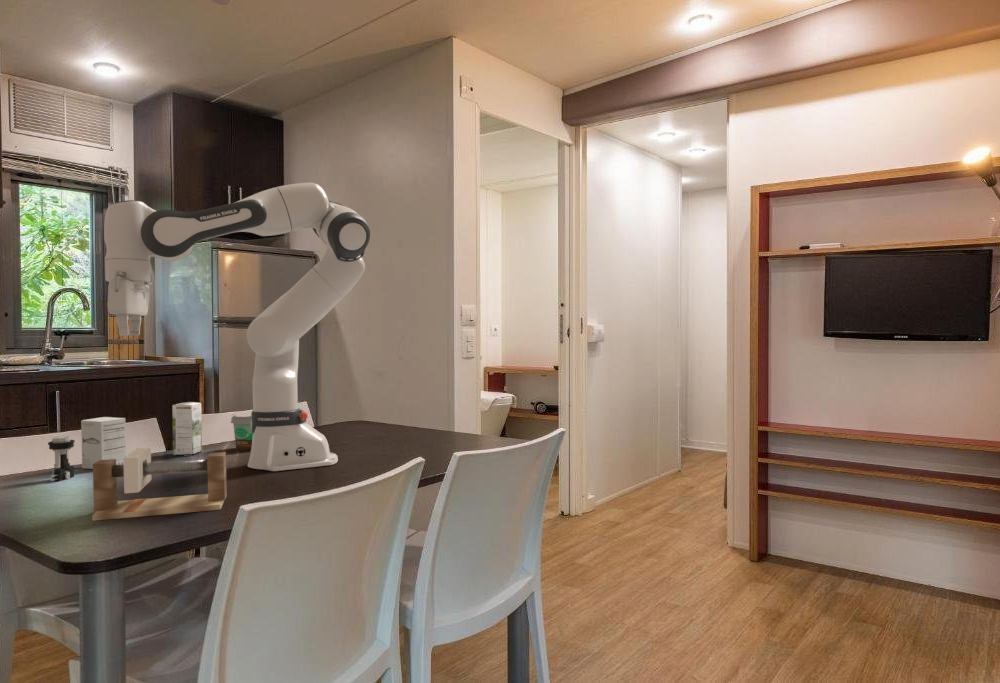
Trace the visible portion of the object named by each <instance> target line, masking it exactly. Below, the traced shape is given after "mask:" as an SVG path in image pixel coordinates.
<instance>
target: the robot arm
mask: <svg viewBox="0 0 1000 683" xmlns="http://www.w3.org/2000/svg"><path fill="white" fill-rule="evenodd" d="M103 226H104V227H103V230H104V231H103V232H104V233H103V235H104V236H103V237H104V239H103V240H104V243H105V246H106V251H105V256H104V270H105V271H104V276H105V282H108V287H107V310H108V313H109V314H110V315H115V320H116V324H117V328H118V335H119V336H120V337H127V336H140V334H141V325H142V324H141V323H142V317H147V316H148V312H149V306H150V305H149V304H150V286H149V285H152V284H153V277H152V274H151V258H157V259H162V260H165V261H170V262H176V261H180V260H183V259H186V258H187V257H188V256H189V255H190V254H191V253H192V252H193V249H194V247H195V244H197V243H199V242H202V241H206V240H209V239H213V238H217V237H221V236H225V235H229V234H234V233H241V232H242V233H243V232H244V233H250V234H251V233H252V234H255V235H258V236H261V237H268V236H269V237H270V236H271V237H272V236H277V235H278V236H279V235H283V234H287V233H291V232H295V231H298V230H301V229H309V228H310V229H312V230H313V232H314V233H315V235H316V236H317V237H318V238H319V239H320V240H321V241H322V242H323V243H324V244H325V245H326V250H325V253H324V255H323V256H322V258H321V259H320V260H319V261H318V262H317V263H316V264H314V266H313V267H312V268H310V269H309V270H308V271H307V272H306V274H304V275H303V276H302V277H301V278H300V279H299V280H298V281H297V282H296V283H295V284H294V285H293V286H292V287H290V289H289V290H287V291H286V292H285V293H283V294H282V295H281V296H280V297H279V298H277V299H276V300H275V301H274V302H273V303H271V305H269V306H267V308H265V309H264V310H263V311H262V312H261V313H260V314H258V316H256V317H255V318H254V319H253V320H252V321H251V322H250V323H249V325H248V327H247V330H246V341H247V343H248V346H249V347H250V349H251V350H252V351H253V352H254V353H255V358H254V369H253V376H252V411H251V412H250V413H251V415H250V416H251V430H252V433H253V439H252V448H251V451H250V454H249V458H248V462H247V467H248V468H250V469H254V470H255V469H256V470H264V471H270V472H279V471H287V470H288V471H289V470H297V469H307V468H316V467H324V466H325V467H326V466H332V465H335V464H337V462H338V461H339V458H338V457H339V456H338V455H337V454H336V453H334V452H331V451H330V445H329V443H328V440H327V438H326V436H325V435H324V434H323V433H321V432H320V431H319V430H317V429H315V428H314V427H313V426H312V425H310V424H308V423H307V419H308V418H309V416H308V415H309V414H308V412H307V411H305V410H303V409H301V408H299V406H298V405H299V403H298V401H299V400H298V399H299V398H298V396H299V395H298V393H299V392H298V372H299V371H298V370H299V356H300V349H299V348H300V339H301V338H302V337H303V336H304V335H306V334H307V333H308V332H309V331H310V330H311V329H312V328H313V327H314V326H316V325H317V324H318V323H319V322H320V321H321V320H322V319H323V318H325V316H327V314H329V313H330V312H331V311H332V310H333V309H334V308H335V307H336V306H337V305H338V304H339V303H340V301H342V300H343V299H344V298H345V297H346V296H347V295H348V294H349V293H350V292H351V290H353V288H354V287H355V285H357V283H358V282H359V280H360V279H361V278H362V276H363V275H364V273H365V270H366V264H365V260H364V258H363V257H364V254H365V251H366V248H367V247H368V245H369V242H370V240H371V230H370V227H369V224H368V223H367V220H365V218H364V217H363V216H362V215H360V214H359V213H357V211H356V210H353V209H352V208H350V207H347V206H345V205H342V204H341V203H338V202H336V201H331V200H329V198H328V195H327V193H326V191H325V190H324V188H322V186H320V184H317V183H314V182H299V183H298V182H297V183H292V184H291V183H290V184H286V185H279V186H276V187H272V188H268V189H266V190H265V189H264V190H262V191H259V192H256V193H254V194H252V195H249V196H247V197H244V198H243V199H240V200H237V201H234V202H233V203H232V202H231V203H227V204H223V205H218V206H214V207H210V208H206V209H205V208H204V209H201V210H194V211H181V210H175V209H174V210H173V209H159V210H156V209H153V208H152V207H150V206H149V205H147V204H146V203H145V202H143V201H141V200H131V199H130V200H122V201H117V202H113V203H112V204H111V205H109V206H108V207H107V209H106V211H105V216H104V224H103ZM129 321H130V325H129ZM129 326H130V327H129Z"/></svg>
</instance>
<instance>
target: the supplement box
mask: <svg viewBox="0 0 1000 683" xmlns="http://www.w3.org/2000/svg"><path fill="white" fill-rule="evenodd" d="M80 421H81V424H80V426H81V427H80V430H81V432H80V433H81V468H82V469H88V470H93V464H94V463H95V462H97V461H98V460H109V459H116V465H121V464H124V463H123V458H125V457H126V456H127V434H126V417H115V416H114V417H112V416H102V417H95V418H89V419H88V418H87V419H82V420H80Z"/></svg>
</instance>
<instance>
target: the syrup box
mask: <svg viewBox="0 0 1000 683" xmlns="http://www.w3.org/2000/svg"><path fill="white" fill-rule="evenodd" d="M171 407H172V412H171V413H172V456H173V455H176V454H194V455H196V454H195V453H197V452H199V453H201V452H200V451H203V449H202V448H203V443H202V442H203V440H202V439H203V438H202V435H203V434H202V433H203V432H202V429H203V428H202V420H203V418H202V414H203V413H202V403H201V402H197V401H196V402H195V401H187V402H181V403H176V404H172V406H171ZM183 449H184V450H183ZM178 450H180V451H178ZM197 454H198V453H197Z"/></svg>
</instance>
